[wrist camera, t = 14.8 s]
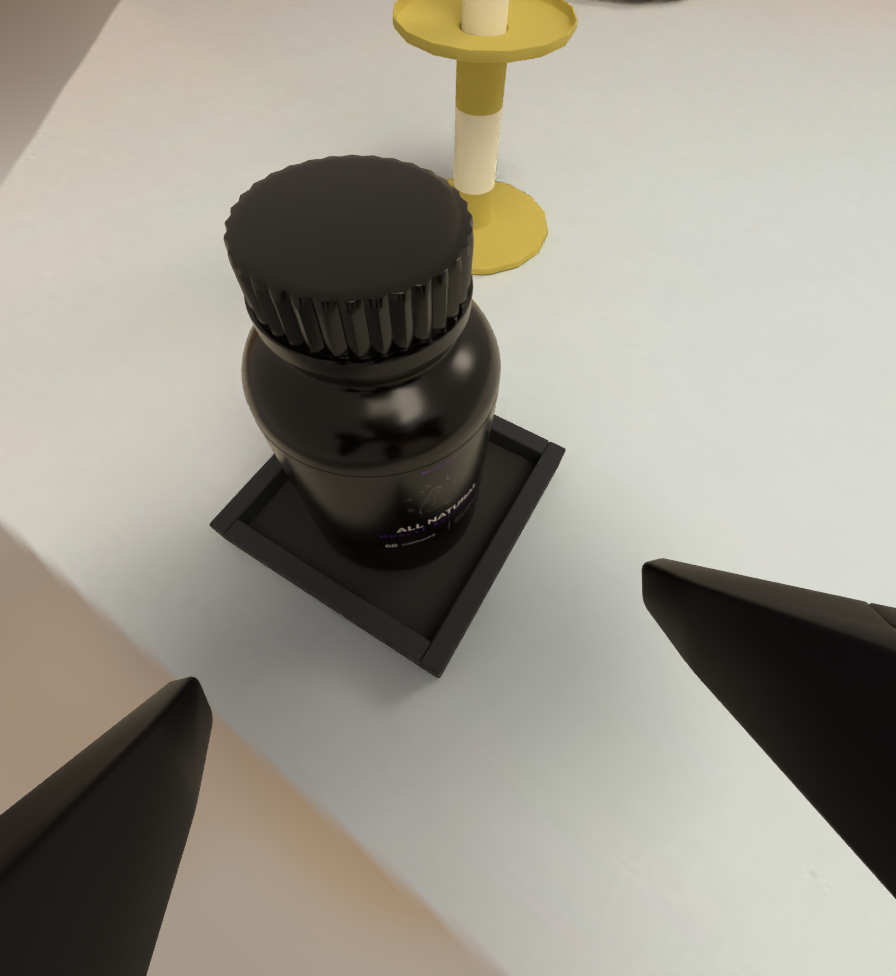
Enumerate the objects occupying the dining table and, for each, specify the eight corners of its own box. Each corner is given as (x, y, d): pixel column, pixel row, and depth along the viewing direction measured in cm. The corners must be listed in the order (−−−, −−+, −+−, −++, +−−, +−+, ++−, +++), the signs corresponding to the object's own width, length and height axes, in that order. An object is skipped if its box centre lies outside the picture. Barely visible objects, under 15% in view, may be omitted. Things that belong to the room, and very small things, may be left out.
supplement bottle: (445, 600, 17) (452, 403, 6) (288, 542, 18) (66, 287, 7) (497, 458, 20) (562, 162, 9) (360, 414, 21) (277, 103, 10)
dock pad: (439, 679, 16) (439, 675, 15) (225, 539, 19) (207, 524, 17) (557, 466, 21) (566, 448, 19) (371, 375, 23) (367, 352, 22)
